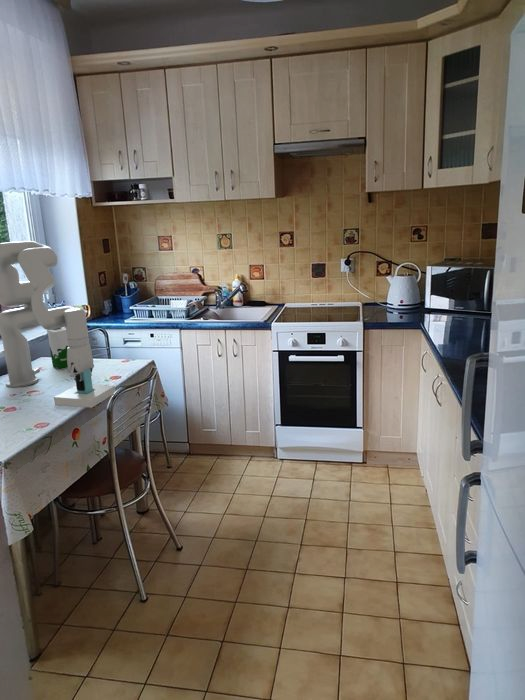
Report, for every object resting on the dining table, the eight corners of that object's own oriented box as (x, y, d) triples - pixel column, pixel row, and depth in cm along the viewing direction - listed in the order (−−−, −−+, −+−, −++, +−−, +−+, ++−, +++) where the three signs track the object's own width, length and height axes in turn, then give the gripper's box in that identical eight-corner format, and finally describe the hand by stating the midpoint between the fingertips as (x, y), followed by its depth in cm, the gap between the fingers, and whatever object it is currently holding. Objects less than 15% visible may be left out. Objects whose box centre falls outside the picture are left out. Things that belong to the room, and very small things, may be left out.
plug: (84, 392, 205) (81, 368, 202) (93, 393, 204) (90, 368, 201) (78, 396, 201) (74, 371, 199) (87, 396, 200) (83, 371, 197)
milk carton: (67, 362, 254) (62, 322, 249) (76, 366, 248) (71, 324, 243) (50, 367, 248) (43, 325, 243) (59, 370, 242) (52, 327, 237)
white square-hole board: (89, 385, 218) (88, 378, 217) (123, 388, 213) (123, 381, 213) (54, 404, 198) (53, 397, 197) (91, 407, 193) (90, 399, 192)
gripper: (83, 336, 206) (89, 381, 210) (55, 347, 190) (62, 395, 195) (100, 337, 204) (105, 382, 208) (73, 347, 188) (79, 396, 193)
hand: (84, 388), depth 202 cm, fingers closed on plug, 3 cm apart
